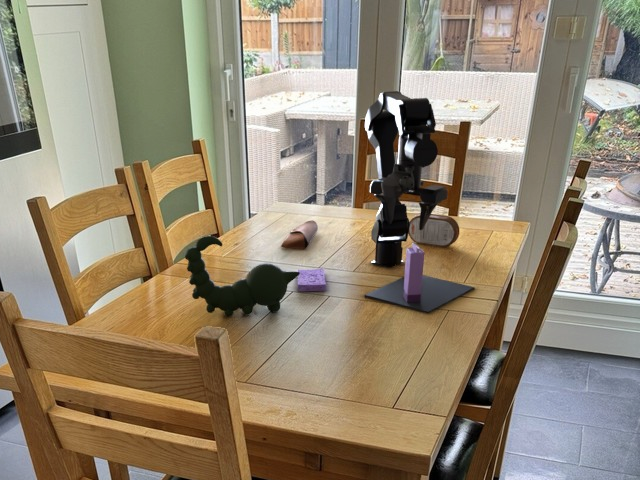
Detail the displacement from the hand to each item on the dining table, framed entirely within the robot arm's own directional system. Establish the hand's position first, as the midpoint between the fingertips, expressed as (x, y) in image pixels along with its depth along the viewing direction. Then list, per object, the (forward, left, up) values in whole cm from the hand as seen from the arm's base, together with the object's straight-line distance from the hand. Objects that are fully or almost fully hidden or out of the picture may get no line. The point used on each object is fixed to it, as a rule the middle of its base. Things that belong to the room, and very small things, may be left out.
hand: (405, 226), depth 176 cm
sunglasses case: (-43, +10, -13) cm, 46 cm away
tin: (-10, +30, -13) cm, 34 cm away
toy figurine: (-15, -42, -13) cm, 47 cm away
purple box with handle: (+11, -12, -12) cm, 20 cm away
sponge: (-16, -17, -13) cm, 27 cm away
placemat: (+9, -6, -13) cm, 17 cm away
